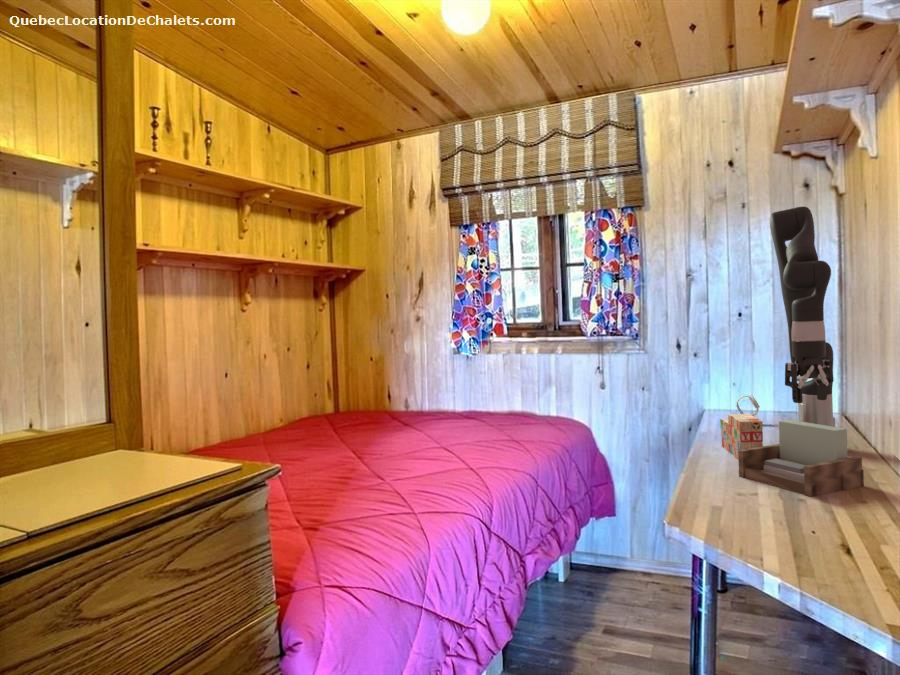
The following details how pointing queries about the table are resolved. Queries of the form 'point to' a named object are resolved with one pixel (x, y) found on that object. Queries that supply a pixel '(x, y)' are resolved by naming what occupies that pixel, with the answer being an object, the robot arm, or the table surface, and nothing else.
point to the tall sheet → (811, 442)
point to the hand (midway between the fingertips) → (809, 401)
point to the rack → (815, 476)
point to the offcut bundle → (785, 469)
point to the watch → (752, 403)
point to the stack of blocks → (741, 433)
